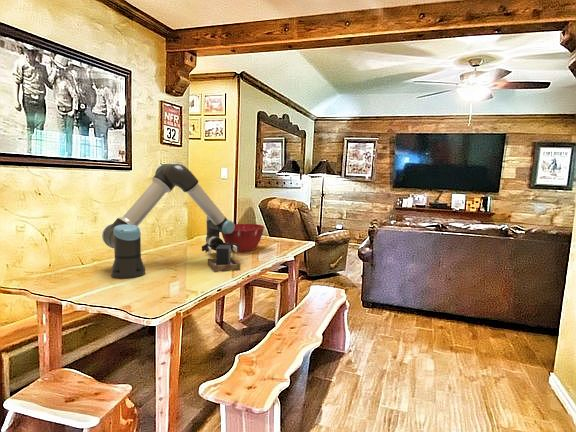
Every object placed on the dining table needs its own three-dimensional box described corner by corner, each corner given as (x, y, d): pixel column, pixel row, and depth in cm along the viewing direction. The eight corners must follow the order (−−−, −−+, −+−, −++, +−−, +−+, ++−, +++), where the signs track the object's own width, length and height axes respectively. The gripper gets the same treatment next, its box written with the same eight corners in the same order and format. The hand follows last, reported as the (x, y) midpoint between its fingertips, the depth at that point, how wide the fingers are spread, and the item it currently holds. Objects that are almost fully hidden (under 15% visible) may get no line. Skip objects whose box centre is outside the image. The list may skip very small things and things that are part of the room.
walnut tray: (213, 272, 189) (213, 266, 189) (207, 264, 205) (207, 258, 205) (240, 270, 194) (240, 264, 194) (232, 262, 210) (232, 257, 210)
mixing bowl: (242, 256, 226) (242, 231, 224) (210, 250, 243) (210, 226, 241) (273, 249, 248) (273, 226, 246) (241, 244, 265) (241, 222, 264)
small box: (228, 268, 195) (228, 248, 194) (215, 268, 195) (215, 248, 193) (231, 263, 205) (231, 244, 204) (218, 263, 205) (218, 244, 204)
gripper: (237, 248, 224) (246, 255, 205) (194, 251, 215) (199, 259, 196) (237, 236, 224) (246, 242, 204) (194, 238, 215) (199, 244, 195)
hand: (223, 250), depth 200 cm, fingers open, 13 cm apart
